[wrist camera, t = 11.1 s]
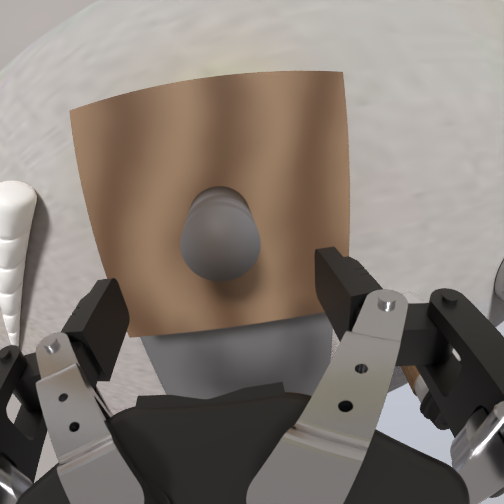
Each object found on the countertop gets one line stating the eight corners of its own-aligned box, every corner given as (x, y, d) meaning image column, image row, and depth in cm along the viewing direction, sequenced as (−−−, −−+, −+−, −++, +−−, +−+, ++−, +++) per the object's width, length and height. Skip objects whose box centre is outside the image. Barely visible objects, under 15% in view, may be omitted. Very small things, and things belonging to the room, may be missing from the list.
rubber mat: (333, 276, 28) (334, 278, 28) (325, 399, 37) (326, 402, 36) (129, 306, 27) (129, 308, 27) (181, 421, 36) (181, 423, 35)
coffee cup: (376, 351, 34) (430, 443, 20) (362, 306, 30) (433, 411, 17) (430, 319, 33) (495, 397, 19) (424, 269, 30) (510, 351, 16)
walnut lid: (338, 73, 17) (380, 59, 12) (342, 302, 24) (369, 346, 19) (74, 110, 16) (29, 110, 11) (131, 331, 23) (116, 381, 18)
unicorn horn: (-3, 339, 28) (-18, 361, 23) (12, 172, 21) (-17, 184, 16) (23, 355, 29) (10, 379, 25) (46, 191, 22) (19, 205, 18)
